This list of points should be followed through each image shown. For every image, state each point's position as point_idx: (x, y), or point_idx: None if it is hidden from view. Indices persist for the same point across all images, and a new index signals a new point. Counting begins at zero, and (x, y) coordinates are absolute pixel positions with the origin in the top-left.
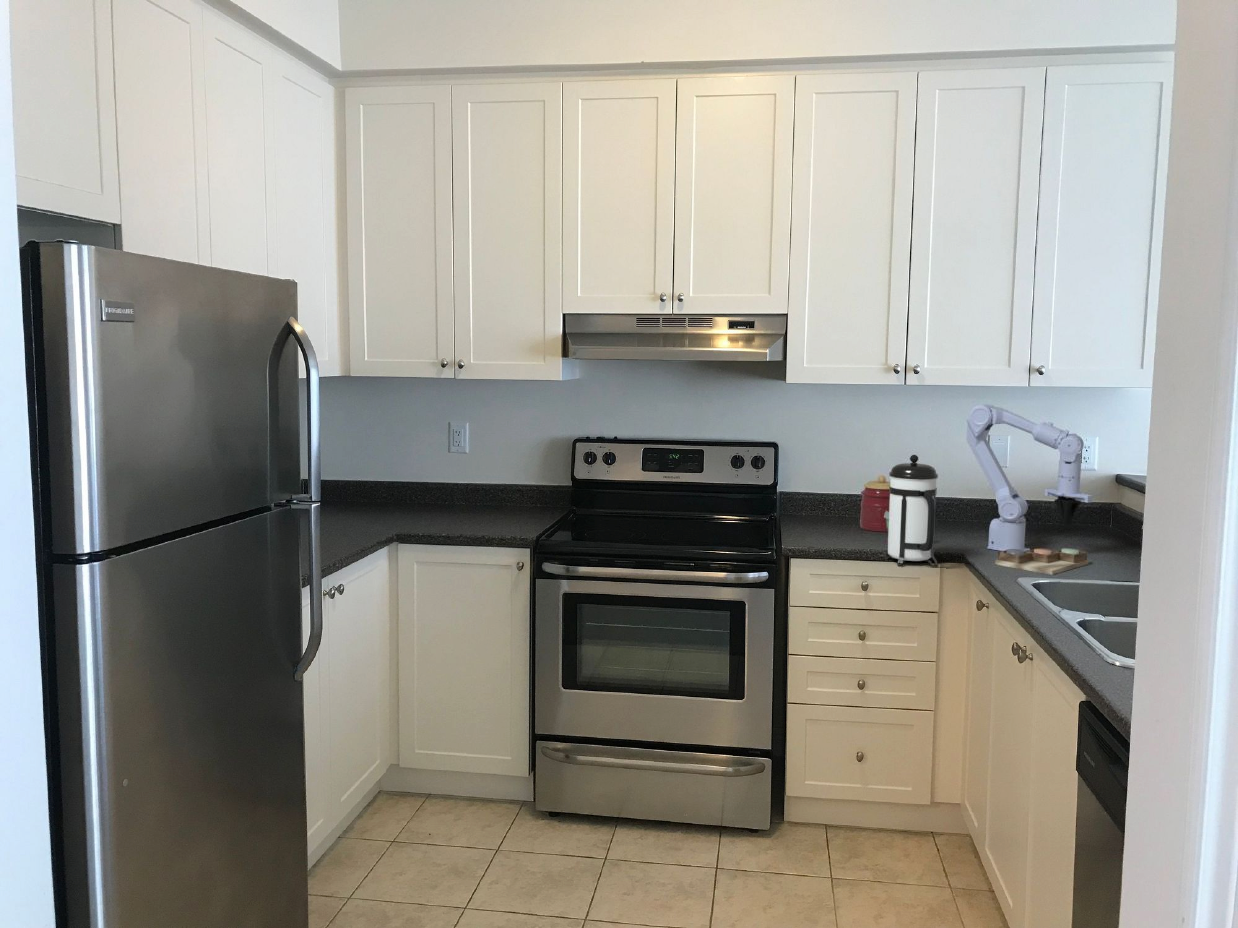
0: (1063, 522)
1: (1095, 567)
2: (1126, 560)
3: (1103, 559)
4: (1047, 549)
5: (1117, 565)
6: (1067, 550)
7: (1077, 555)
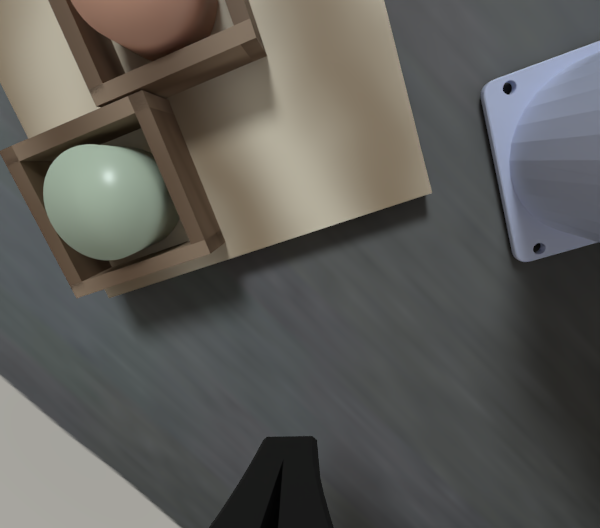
0: (285, 446)
1: (49, 258)
2: (154, 496)
3: (196, 432)
4: (144, 36)
5: (73, 387)
6: (83, 167)
7: (12, 169)
